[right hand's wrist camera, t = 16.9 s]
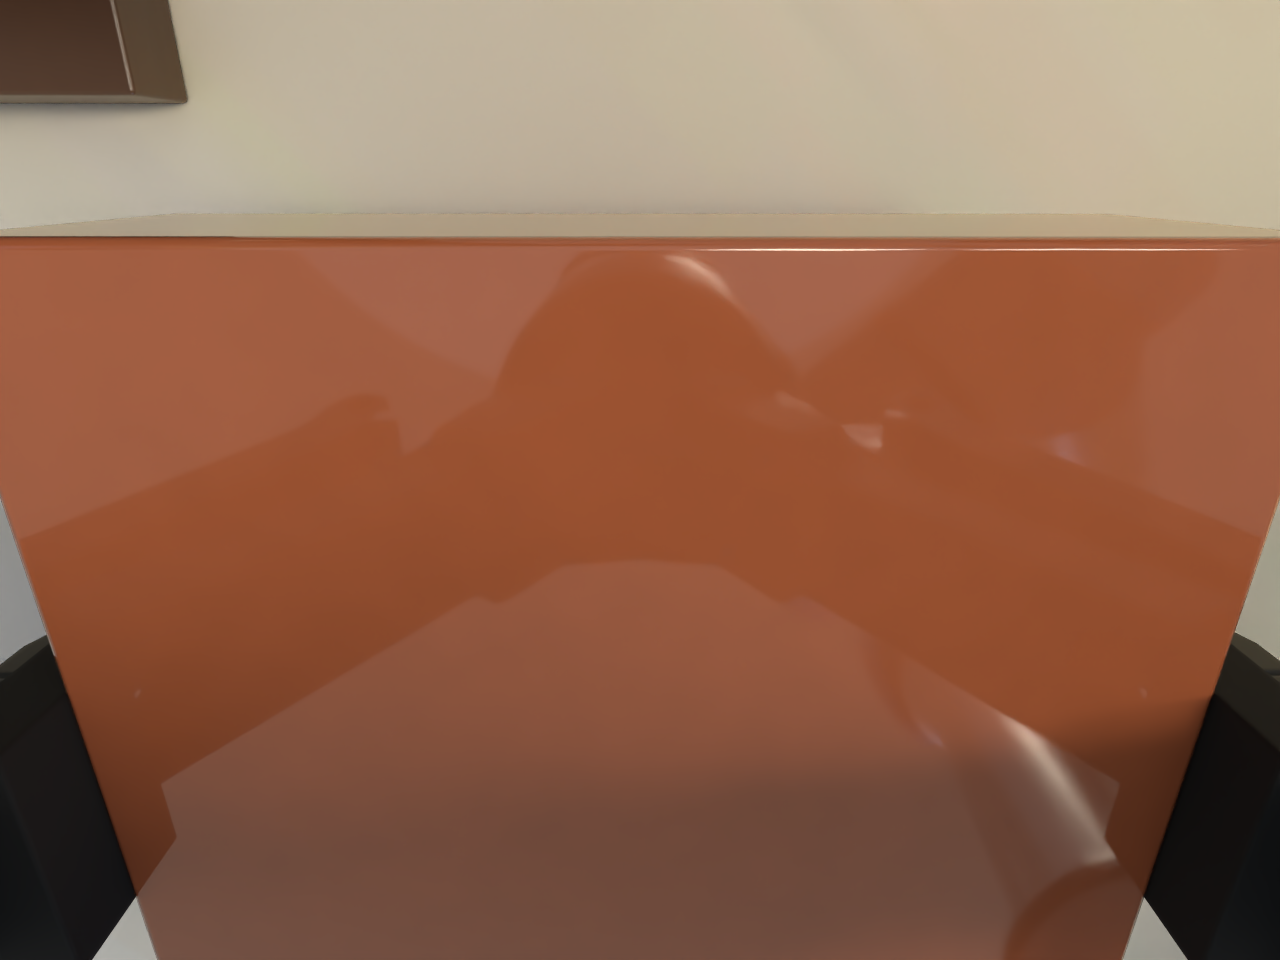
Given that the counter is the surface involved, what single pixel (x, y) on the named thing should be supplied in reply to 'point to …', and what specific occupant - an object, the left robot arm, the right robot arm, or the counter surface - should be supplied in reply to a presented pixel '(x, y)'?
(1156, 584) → the orange square block
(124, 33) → the caddy
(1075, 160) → the counter surface
